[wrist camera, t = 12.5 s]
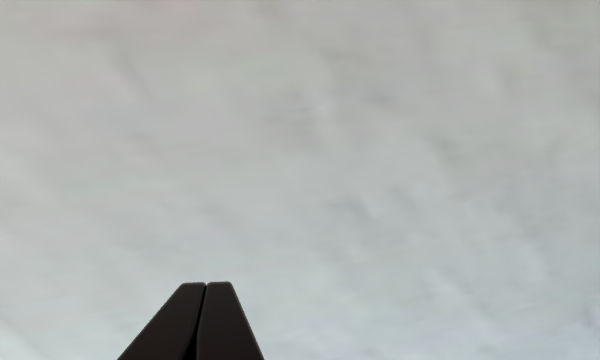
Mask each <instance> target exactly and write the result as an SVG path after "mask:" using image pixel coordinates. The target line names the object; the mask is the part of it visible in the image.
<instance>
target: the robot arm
mask: <svg viewBox="0 0 600 360" xmlns="http://www.w3.org/2000/svg"><path fill="white" fill-rule="evenodd" d="M117 360H264V357H263V355H262V353H261V350H260V348H259V346H258V343H257V341H256V339H255V336H254V334H253V332H252V329H251V327H250V325H249V323H248V320H247V318H246V316H245V313H244V311H243V309H242V306H241V304H240V302H239V299H238V297H237V295H236V292H235V290H234V288H233V285H232V284H231V283H230V282H210V283H208V284H207V285H206V284H205V283H204V282H194V283H183V284H182V285H180V286H179V287H178V289H177V290H176V291H175V292H174V293H173V295H172V296H171V297H170V298H169V299H168V300H167V302H166V303H165V304H164V305H163V306H162V307H161V309H160V310H159V311H158V312H157V313H156V314H155V316H154V317H153V318H152V319H151V320H150V322H149V323H148V324H147V325H146V326H145V327H144V329H143V330H142V331H141V332H140V333H139V334H138V336H137V337H136V338H135V339H134V340H133V341H132V343H131V344H130V345H129V346H128V347H127V349H126V350H125V351H124V352H123V353H122V354H121V356H120V357H119V358H118V359H117Z"/></svg>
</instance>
